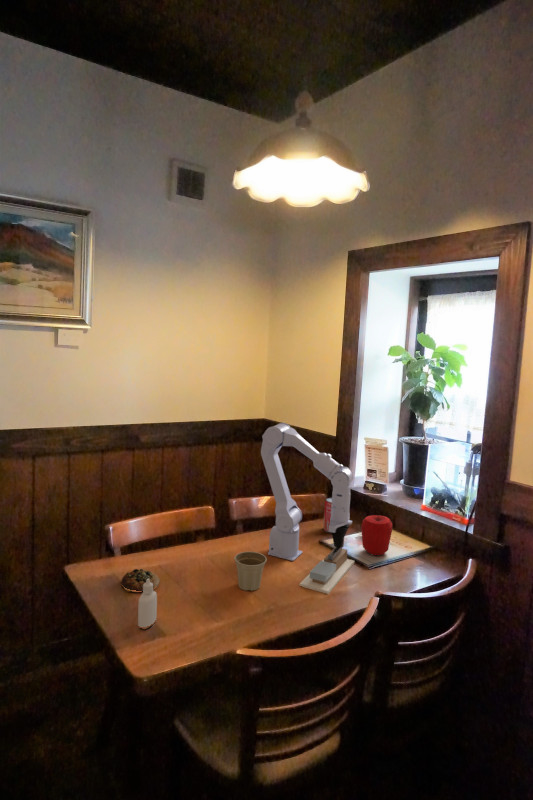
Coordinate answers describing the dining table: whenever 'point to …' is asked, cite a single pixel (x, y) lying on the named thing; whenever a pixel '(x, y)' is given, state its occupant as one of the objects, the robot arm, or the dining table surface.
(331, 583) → the latch box
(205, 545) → the dining table surface
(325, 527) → the soda can
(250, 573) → the flower pot
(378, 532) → the apple
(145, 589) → the eye dropper bottle
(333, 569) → the cover
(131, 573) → the bread roll
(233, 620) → the dining table surface
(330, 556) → the bolt
